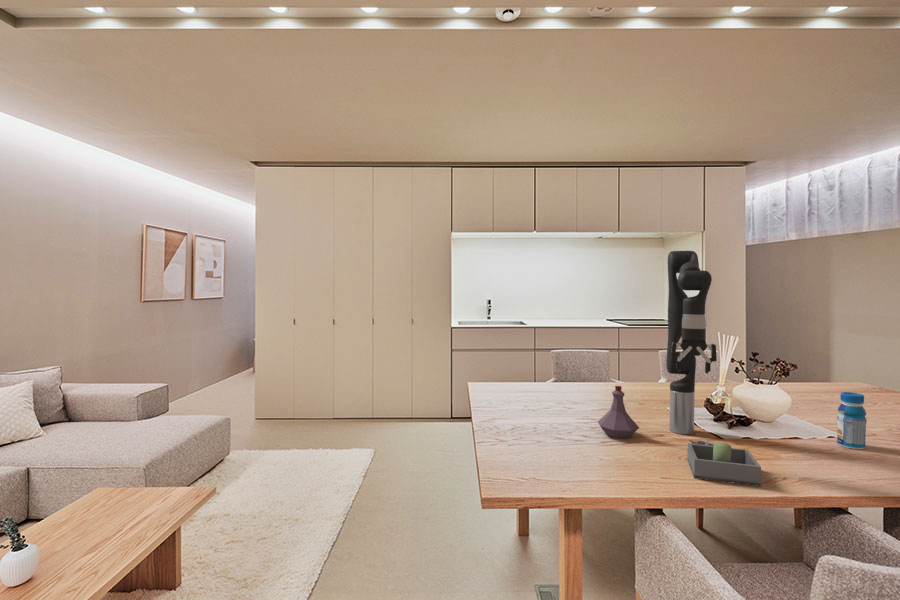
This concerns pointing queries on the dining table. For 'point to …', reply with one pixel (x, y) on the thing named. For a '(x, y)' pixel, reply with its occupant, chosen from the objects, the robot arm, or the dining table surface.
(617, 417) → the flask
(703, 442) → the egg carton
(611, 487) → the dining table surface
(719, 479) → the bin
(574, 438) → the dining table surface
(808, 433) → the dining table surface
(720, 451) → the green capsule
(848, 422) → the beverage bottle
